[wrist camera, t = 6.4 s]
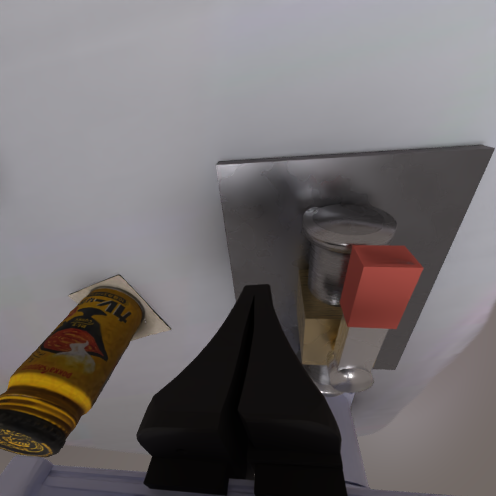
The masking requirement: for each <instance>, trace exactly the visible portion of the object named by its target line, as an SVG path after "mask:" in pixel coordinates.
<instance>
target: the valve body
mask: <svg viewBox="0 0 496 496" xmlns="http://www.w3.org/2000/svg"><path fill="white" fill-rule="evenodd" d="M494 149H495V148H492V147H488V146H484V145H474V146H458V147H442V148H426V149H410V150H394V151H378V152H362V153H347V154H331V155H315V156H299V157H283V158H267V159H251V160H235V161H219V162H218V163H217V164H216V170H217V176H218V183H219V190H220V196H221V203H222V210H223V217H224V223H225V230H226V237H227V243H228V250H229V257H230V264H231V270H232V277H233V284H234V290H235V297H236V302H237V300H238V298H239V296H240V294H241V292H242V290H243V288H244V286H245V285H259V284H269V285H270V287H271V294H272V300H273V306H274V309H275V312H276V315H277V317H278V320H279V322H280V325H281V327H282V329H283V331H284V334H285V336H286V338H287V340H288V342H289V343H290V345H291V347H292V349H293V351H294V353H295V354H296V356H297V357H298V359H299V361H300V362H301V364H302V366H303V367H304V369H305V370H306V372H307V373H308V375H309V376H310V378H311V379H312V381H313V382H314V383H315V385H316V386H317V387H318V389H319V390H320V391H321V393H322V394H323V395H324V397H336V396H339V395H341V394H343V393H345V392H341V391H338V390H336V389H334V388H333V387H332V386H331V384H330V379H329V374H328V368H327V363H326V356H327V354H328V353H329V352H330V351H332V350H334V346H335V342H336V338H337V334H338V330H339V326H340V322H341V318H342V314H343V311H342V308H341V305H340V299H341V294H342V290H343V286H344V281H345V277H346V272H347V268H348V264H349V259H350V255H351V251H352V246H353V245H388V246H405V247H406V248H407V249H408V250H409V251H410V253H411V254H412V255H413V256H414V257H415V258H416V260H417V261H418V262H419V263H420V264H421V265H422V267H423V271H422V273H421V275H420V277H419V280H418V282H417V284H416V286H415V288H414V291H413V293H412V295H411V297H410V300H409V302H408V304H407V306H406V309H405V311H404V313H403V315H402V318H401V320H400V322H399V324H398V327H397V329H388V332H387V334H386V336H385V339H384V341H383V343H382V346H381V348H380V351H379V353H378V355H377V358H376V360H375V363H374V365H373V367H372V369H389V370H395V369H396V367H397V365H398V362H399V360H400V358H401V356H402V354H403V351H404V349H405V347H406V345H407V342H408V340H409V338H410V336H411V334H412V331H413V329H414V327H415V325H416V322H417V320H418V318H419V316H420V314H421V311H422V309H423V307H424V305H425V303H426V300H427V298H428V296H429V294H430V291H431V289H432V287H433V285H434V283H435V280H436V278H437V276H438V274H439V271H440V269H441V267H442V265H443V263H444V260H445V258H446V256H447V254H448V251H449V249H450V247H451V245H452V243H453V240H454V238H455V236H456V234H457V231H458V229H459V227H460V225H461V223H462V220H463V218H464V216H465V214H466V212H467V209H468V207H469V205H470V203H471V200H472V198H473V196H474V194H475V192H476V189H477V187H478V185H479V183H480V180H481V178H482V176H483V174H484V172H485V169H486V167H487V165H488V163H489V160H490V158H491V156H492V154H493V152H494Z"/></svg>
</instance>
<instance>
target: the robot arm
mask: <svg viewBox="0 0 496 496" xmlns="http://www.w3.org/2000/svg"><path fill="white" fill-rule="evenodd" d="M354 394H355V393H346V392H345V393H343V394H341V395H339V396H336V397H324V395H323V394H322V393H321V391H320V390H319V389H318V387H317V386H316V385H315V383H314V382H313V381H312V379H311V378H310V376H309V375H308V373H307V372H306V370H305V369H304V367H303V366H302V364H301V362H300V361H299V359H298V357H297V356H296V354H295V353H294V351H293V349H292V347H291V345H290V343H289V342H288V340H287V338H286V336H285V334H284V331H283V329H282V327H281V325H280V322H279V320H278V317H277V315H276V312H275V309H274V306H273V300H272V294H271V287H270V285H269V284H259V285H245V286H244V288H243V290H242V292H241V294H240V296H239V298H238V300H237V302H236V303H235V305H234V307H233V309H232V310H231V312H230V314H229V315H228V317H227V318H226V320H225V321H224V323H223V324H222V326H221V327H220V329H219V330H218V332H217V333H216V334H215V336H214V337H213V338H212V339H211V341H210V342H209V343H208V344H207V346H206V347H205V348H204V349H203V350H202V351H201V352H200V354H199V355H198V356H197V357H196V358H195V359H194V360H193V361H192V362H191V363H190V364H189V365H188V366H187V367H186V368H185V369H184V370H183V371H182V372H181V373H180V374H179V375H178V376H177V377H176V378H174V379H173V380H172V381H171V382H170V383H169V384H167V385H166V386H165V387H164V388H163V389H161V390H160V391H159V392H158V393H157V394H155V395H154V396H153V398H152V400H151V402H150V404H149V406H148V408H147V410H146V412H145V415H144V417H143V420H142V422H141V425H140V427H139V430H138V432H137V440H138V442H139V443H140V445H141V446H142V447H143V448H144V449H145V450H146V451H147V452H148V453H149V454H150V455H151V456H152V459H151V462H150V465H149V468H148V471H147V472H139V471H126V470H112V469H100V468H87V467H73V466H61V465H53V464H52V463H51V462H50V461H48V460H47V459H44V458H41V457H36V456H22V455H16V456H14V457H13V458H12V460H11V461H10V463H9V464H8V465H7V467H6V468H5V469H4V471H3V472H2V474H1V475H0V496H452V495H439V494H438V495H437V494H426V493H413V492H399V491H387V490H374V489H370V488H369V485H368V481H367V477H366V473H365V469H364V464H363V460H362V456H361V452H360V448H359V444H358V440H357V435H356V431H355V427H354V423H353V419H352V415H351V411H350V407H351V404H352V401H353V398H354ZM254 473H255V475H254Z"/></svg>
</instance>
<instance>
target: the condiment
mask: <svg viewBox="0 0 496 496" xmlns="http://www.w3.org/2000/svg"><path fill="white" fill-rule="evenodd" d="M68 296H69V297H70V298H71V299H73V300H74V301H75V302H76V303H78V305H77V306H76V307H75V308H74V309H73V310H72V311H71V312H70V313H69V315H68V316H67V317H66V318H65V319H64V320H63V321H62V322H61V323H60V324H59V325H58V326H57V328H56V329H55V330H54V331H53V332H52V333H51V334H50V335H49V336H48V337H47V338H46V340H45V341H44V342H43V343H42V344H41V345H40V346H39V347H38V349H37V350H36V351H34V352H33V353H32V354H31V356H30V357H29V358H28V359H27V360H26V361H25V362H24V363H23V364H22V365H21V366H20V367H19V368H18V369H17V370H16V372H15V373H14V374H13V375H12V376H11V378H10V381H9V385H8V389H7V391H6V392H5V393H3V394H1V395H0V449H3V450H6V451H9V452H13V453H16V454H20V455H27V456H36V457H49V456H52V455H54V454H57V453H58V452H59V451H60V449H61V448H63V446H64V444H65V440H66V438H67V437H68V435H69V434H70V433H71V432H72V431H73V429H74V428H75V427H76V425H77V423H78V422H79V420H80V418H81V416H82V415H84V414H86V413H87V412H88V411H89V410H90V409H91V408H92V407H93V404H94V403H95V402H96V400H97V398H98V396H99V395H100V393H101V391H102V390H103V388H104V386H105V384H106V383H107V381H108V380H109V378H110V376H111V374H112V372H113V370H114V368H115V367H116V365H117V364H118V362H119V360H120V359H121V356H122V355H123V353H124V352H125V350H126V349H127V347H128V345H129V343H130V341H133V340H136V339H139V338H142V337H146V336H149V335H151V334H157V333H160V332H165V331H168V330H171V329H170V328H169V327H168V326H167V325H166V324H165V323H164V322H163V321H162V320H161V319H160V318H159V317H158V316H157V315H156V314H155V313H154V312H153V310H152V309H151V308H150V307H149V306H148V304H147V303H146V302H145V301H144V300H143V299H142V298H141V297H140V296H139V295H138V294H137V293H136V292H135V291H134V289H133V288H132V287H131V286H129V285H128V283H127V282H126V281H125V280H124V279H123V278H122V277H120V276H119V275H117V276H115V277H112V278H109V279H107V280H104V281H102V282H99V283H97V284H94V285H92V286H89V287H87V288H85V289H82V290H80V291H78V292H76V293H73V294H71V295H68ZM144 319H146V320H144ZM145 321H146V323H145Z"/></svg>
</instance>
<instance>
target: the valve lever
mask: <svg viewBox="0 0 496 496" xmlns="http://www.w3.org/2000/svg"><path fill="white" fill-rule="evenodd" d="M422 271H423V267H422V265H421V264H420V263H419V262H418V261H417V260H416V258H415V257H414V256H413V255H412V254H411V253H410V251H409V250H408V249H407V248H406V247H405V246H388V245H353V246H352V251H351V255H350V259H349V264H348V268H347V272H346V277H345V281H344V286H343V290H342V294H341V299H340V305H341V308H342V311H343V314H342V318H341V322H340V326H339V330H338V334H337V338H336V342H335V346H334V350H332V351H330V352H329V353H328V354H327V356H326V363H327V368H328V374H329V379H330V384H331V386H332V387H333V388H334V389H336V390H338V391H341V392H346V393H356V392H361V391H364V390H367V389H368V388H370V387H371V386H372V385H373V383H374V380H373V377H372V374H371V370H372V367H373V365H374V363H375V360H376V358H377V355H378V353H379V351H380V348H381V346H382V343H383V341H384V339H385V336H386V334H387V332H388V329H397V327H398V324H399V322H400V320H401V318H402V315H403V313H404V311H405V309H406V306H407V304H408V302H409V300H410V297H411V295H412V293H413V291H414V288H415V286H416V284H417V282H418V280H419V277H420V275H421V273H422Z"/></svg>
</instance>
